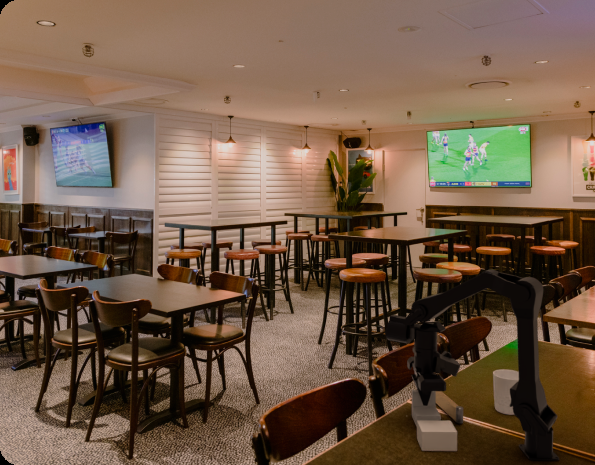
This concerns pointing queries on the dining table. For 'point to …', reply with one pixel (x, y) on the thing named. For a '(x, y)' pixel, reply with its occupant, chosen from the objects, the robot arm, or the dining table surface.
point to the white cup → (504, 389)
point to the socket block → (436, 435)
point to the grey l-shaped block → (424, 408)
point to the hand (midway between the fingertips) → (425, 405)
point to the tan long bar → (449, 406)
